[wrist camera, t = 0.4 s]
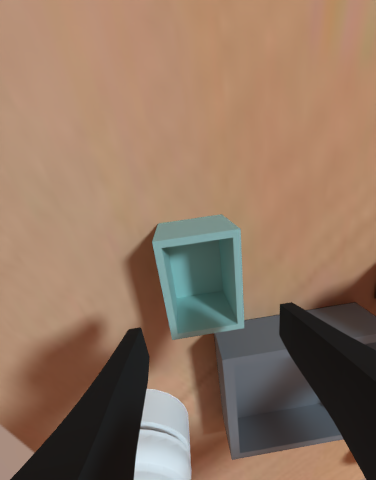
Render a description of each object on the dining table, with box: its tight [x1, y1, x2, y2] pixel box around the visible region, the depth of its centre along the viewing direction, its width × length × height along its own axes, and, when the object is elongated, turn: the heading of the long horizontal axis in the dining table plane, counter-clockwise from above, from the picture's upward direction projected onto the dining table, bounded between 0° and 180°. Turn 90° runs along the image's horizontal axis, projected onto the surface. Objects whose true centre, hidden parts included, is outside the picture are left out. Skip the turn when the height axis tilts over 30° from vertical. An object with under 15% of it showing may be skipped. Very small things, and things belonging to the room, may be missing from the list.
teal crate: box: [152, 214, 244, 340], centre depth 15 cm, size 6×8×5 cm
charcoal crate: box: [214, 303, 376, 460], centre depth 21 cm, size 16×16×4 cm
